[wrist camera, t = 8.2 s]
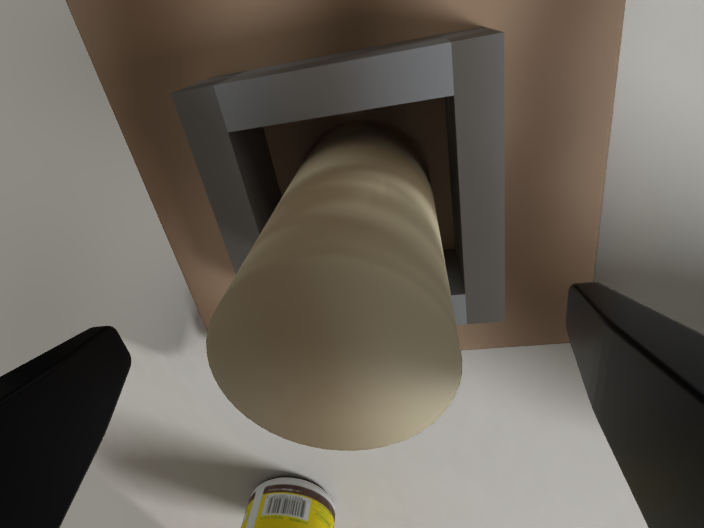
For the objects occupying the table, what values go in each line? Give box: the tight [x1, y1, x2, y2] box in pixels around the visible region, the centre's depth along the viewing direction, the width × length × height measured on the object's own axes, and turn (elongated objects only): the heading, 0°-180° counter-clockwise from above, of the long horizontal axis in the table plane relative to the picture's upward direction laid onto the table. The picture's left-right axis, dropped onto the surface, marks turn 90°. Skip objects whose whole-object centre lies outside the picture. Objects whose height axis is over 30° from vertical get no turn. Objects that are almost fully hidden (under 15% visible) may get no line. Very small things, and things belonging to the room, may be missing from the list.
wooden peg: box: [206, 120, 462, 451], centre depth 12 cm, size 4×4×9 cm
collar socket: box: [66, 0, 626, 350], centre depth 15 cm, size 16×16×4 cm
